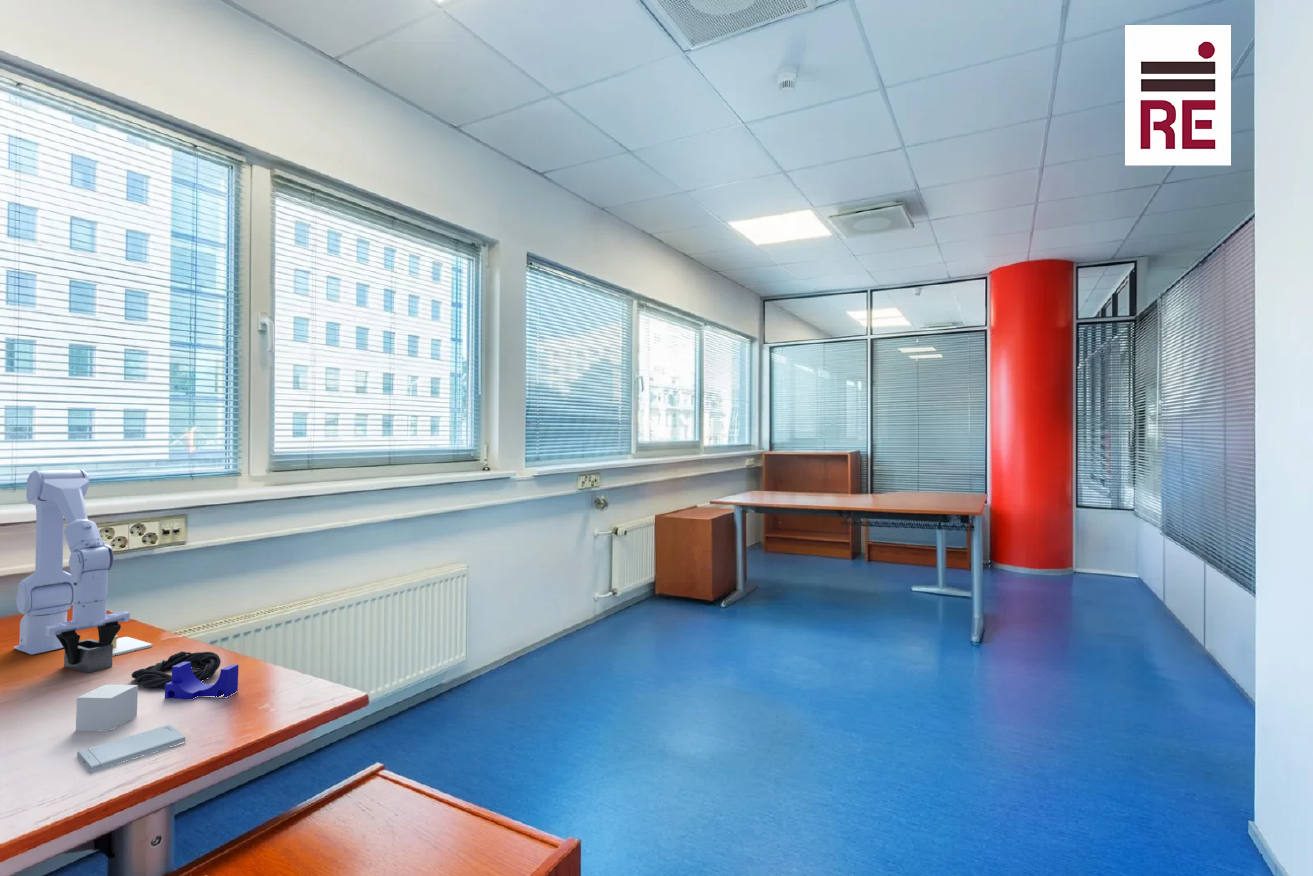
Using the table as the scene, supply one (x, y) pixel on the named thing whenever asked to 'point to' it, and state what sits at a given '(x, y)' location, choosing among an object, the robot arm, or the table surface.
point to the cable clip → (200, 683)
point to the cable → (198, 660)
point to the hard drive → (129, 747)
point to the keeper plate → (127, 645)
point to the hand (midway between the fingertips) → (88, 660)
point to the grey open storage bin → (92, 656)
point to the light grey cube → (106, 707)
